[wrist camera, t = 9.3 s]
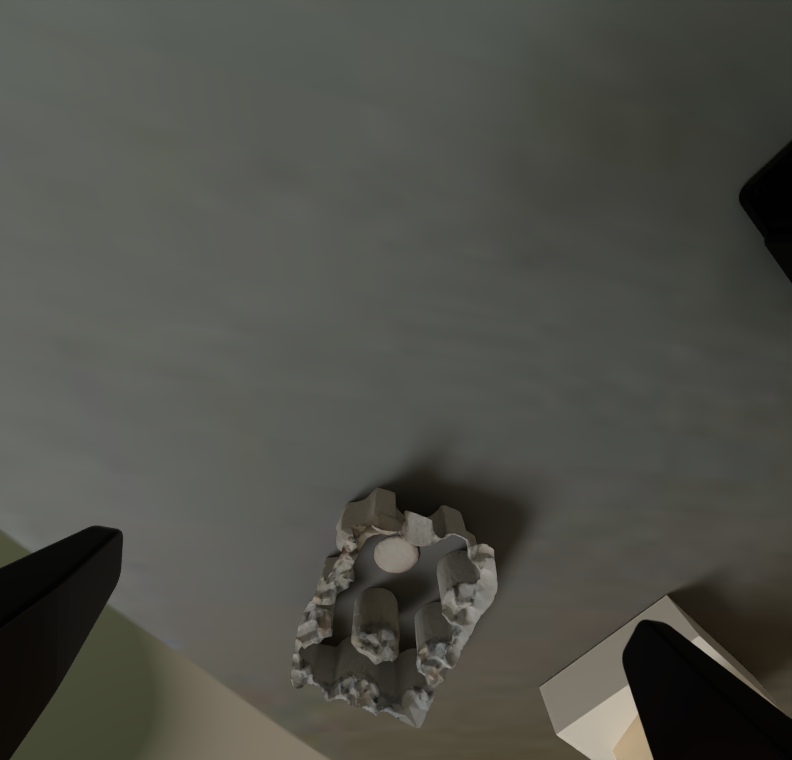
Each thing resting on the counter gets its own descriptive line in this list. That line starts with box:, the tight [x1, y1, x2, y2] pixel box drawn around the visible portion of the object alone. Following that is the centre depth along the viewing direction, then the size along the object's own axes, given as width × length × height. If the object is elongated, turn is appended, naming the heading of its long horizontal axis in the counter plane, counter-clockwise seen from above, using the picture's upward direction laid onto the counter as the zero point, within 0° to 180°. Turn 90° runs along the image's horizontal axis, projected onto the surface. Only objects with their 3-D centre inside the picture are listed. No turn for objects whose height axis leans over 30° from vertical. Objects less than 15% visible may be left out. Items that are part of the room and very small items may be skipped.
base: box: [539, 595, 786, 760], centre depth 24 cm, size 9×9×2 cm
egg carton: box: [291, 488, 497, 729], centre depth 21 cm, size 11×8×4 cm
